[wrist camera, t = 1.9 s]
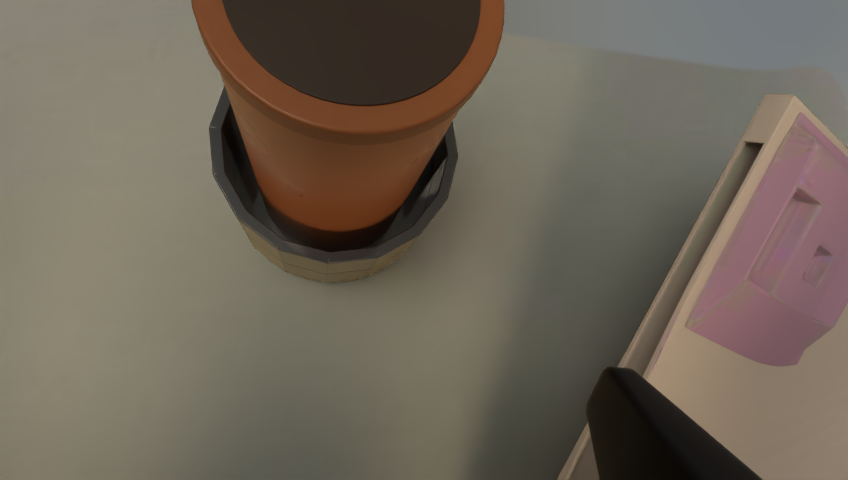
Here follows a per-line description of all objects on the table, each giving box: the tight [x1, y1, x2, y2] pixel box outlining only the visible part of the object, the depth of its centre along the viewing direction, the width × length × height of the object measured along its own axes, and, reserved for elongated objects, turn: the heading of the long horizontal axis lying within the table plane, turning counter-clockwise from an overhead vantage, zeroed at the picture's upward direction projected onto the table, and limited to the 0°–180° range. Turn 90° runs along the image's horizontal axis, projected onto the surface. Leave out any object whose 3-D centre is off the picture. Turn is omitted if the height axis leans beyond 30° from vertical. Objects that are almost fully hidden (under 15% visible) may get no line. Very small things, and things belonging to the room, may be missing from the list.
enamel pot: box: [209, 86, 458, 283], centre depth 19 cm, size 8×8×5 cm
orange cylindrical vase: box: [191, 0, 504, 252], centre depth 16 cm, size 6×6×12 cm
